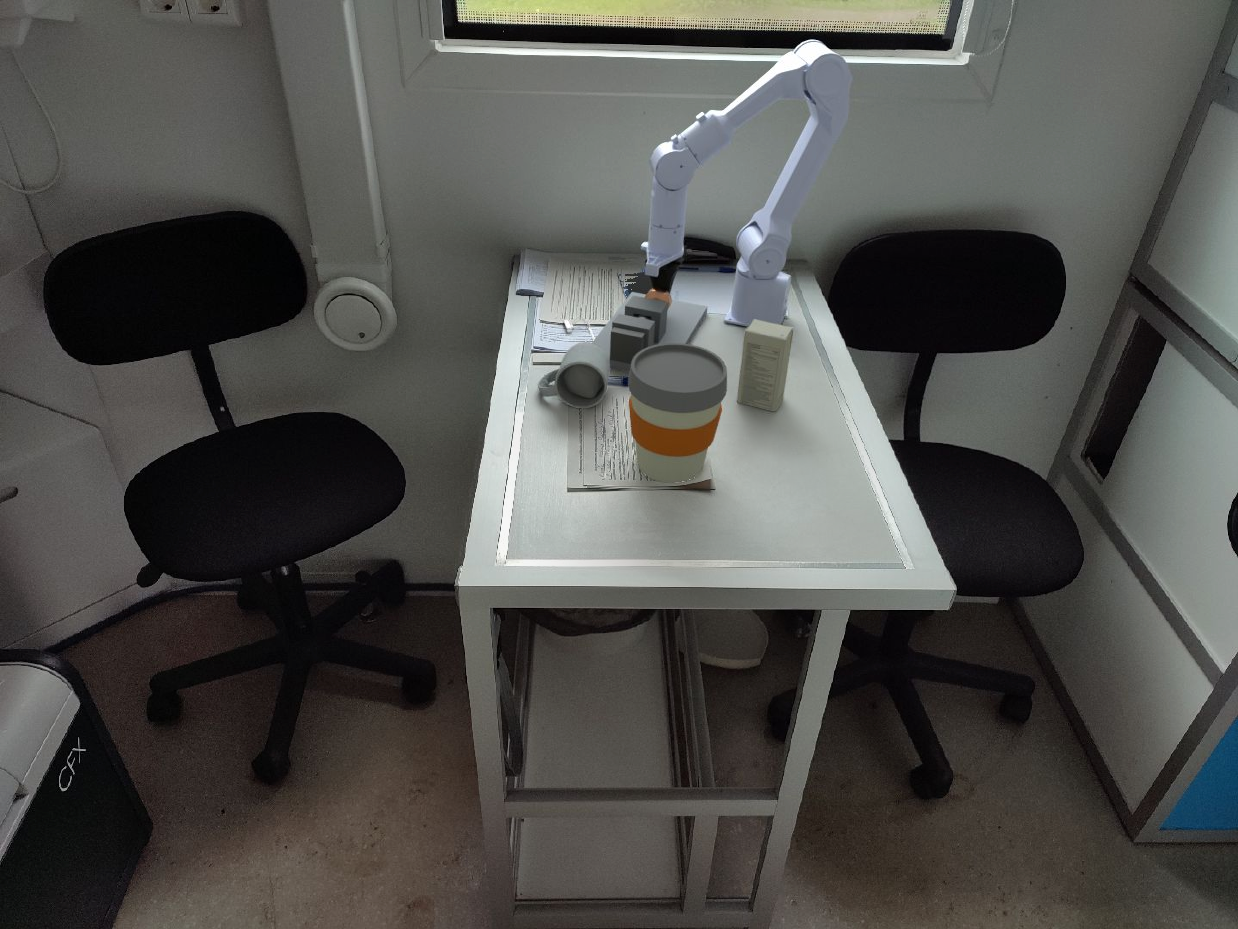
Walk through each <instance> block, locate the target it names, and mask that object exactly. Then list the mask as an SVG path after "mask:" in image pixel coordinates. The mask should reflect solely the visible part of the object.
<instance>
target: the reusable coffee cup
mask: <svg viewBox="0 0 1238 929" xmlns="http://www.w3.org/2000/svg"><path fill="white" fill-rule="evenodd" d="M627 387H628V391H629V392H630V397H629V398H628V400H629V401H628V410H629V420H630V432H631V435H632V438H633V440H634V443H635V452H636V455H635V456H636V463H637V466H638V468H639V470H640V471H641V473H643V474H644V475H645V476H647V477H648V478H650V479H652V480H654V481H657V482H661V483H666V482H672V483H671V484H676V483H675V482H681V483H683V482H682V481H685V482H688V481H687V480H689V479H691V480H693V479H694V477H695V478H696V477H698V476H699V475H700V474H701V472H702V470H703V468H704V464H705V460H706V457H707V454H708V450H709V448H710V447H711V445H712V444H713V442H714V440H715V437H716V434H717V430H718V426H719V423H720V420H721V416H722V412H723V407H722V401H723V400H724V399H725V397H726V395H727V390H728V389H727V388H728V370H727V365H726V363H725V361H724V360H723V359H722V358H721V357H720V356H719V355H717V354H716V353H715V352H712V351H711V350H708V349H707V348H704V347H701V346H697V345H694V344H690V343H689V344H683V343H664V344H658V345H653V346H650V347H647V348H645V349H643V350H641V351H640V352H638V353H637V354H636V355H635V356H634V357H633V359H632V362H631V367H630V372H628V378H627ZM697 475H698V476H697ZM689 481H690V480H689Z"/></svg>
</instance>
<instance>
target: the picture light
mask: <svg viewBox="0 0 1238 929" xmlns="http://www.w3.org/2000/svg"><path fill="white" fill-rule="evenodd" d="M584 319H585V318H584ZM584 319H583V317H582V316H579V317H576V318H575V319H573V321H572V322H571V323H570V321H569V320H568V319H563V321H564V325H565V328H566V332H567V334H568V335H569V334H572V333H573V331H572V330H574V329H575V324H576V323H577V322H579V321H584V322H585V321H586V322H587V325H588V326H586V328H587V327H588V329H587V331H588V332H589V331H590V333H589V335H590V334H591V336H590V337H592V338H593V340H594V339H595V338H596V336H595V334H594V331H593V330H592V326H591V324H590V322H589V320H588V318H587V319H585V320H584ZM587 320H588V321H587ZM592 338H591V339H592ZM593 340H592V341H593Z"/></svg>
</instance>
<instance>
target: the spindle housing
mask: <svg viewBox="0 0 1238 929" xmlns="http://www.w3.org/2000/svg"><path fill="white" fill-rule="evenodd" d="M645 296H646V295H645V294H640V293H635V292H631V294H630V295H629V296H628V298H627V299H626V298H625V300H624V301H623V303H622V304H620V307H618V309H617V310H616V312H615V313H614V314H613V316H611V318H610V319H609V321H607V323H606V324H605V326H603V328H602V329H601V330H600V332H599V333H598V335H597V336H595V339H594V341H593V340H592V342H591V343H593V344H596V345H598V346H600V347H601V348H602V349H603V350H604V351H605V352H606V353H607V355H608V358H609V361H610V369H613V370H617V371H622V372H626V373H629V372H630V367H631V362H632V359H633V357H634V356H635V355H636V354H637V353H638V352H640V351H641V350H643V349H645V348H647V347H650V346H653V345H658V344H664V343H683V344H690V343H691V341H692V340H693V338H694V336H695V335H696V333H697V332H698V330H699V328H700V326H701V325H702V323H703V321H704V320H705V318H706V316H707V314H708V306H707V305H701V304H697V303H691V302H686V301H681V300H677V299H676V300H675V299H672V303H671V306H670V307H669V309H668V302H664V301H659V300H654V299H649V298H644V297H645ZM639 314H640V315H645V316H650V317H651V320H647V319H642V318H637V317H638V315H639Z"/></svg>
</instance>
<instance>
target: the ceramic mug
mask: <svg viewBox="0 0 1238 929" xmlns="http://www.w3.org/2000/svg"><path fill="white" fill-rule="evenodd" d="M610 373H611V368H610V361H609V358H608V355H607V353H606V352H605V351H604V350H603V349H602V348H601V347H600V346H598V345H596V344H593V343H592V342H589V341H588V342H587V341H586V342H585V341H583V342H578V343H576V344H574V345H572V346H571V347H570V348H569V349H568V350H567V351H566V352H565V354H564V355H563V358H562V360H561V363H560V365H559V368H557V369H554V370H552V371H550V372H549V371H548V373H547V374H545V375H544V376H542V377H541V378H540V380H539V382H538V383H537V389H538V390H539V392H540V394H541V395H542V396H543V397H545V398H548V397H556V396H558V398H559V399H560V400H561V401H562V402H563V403H565V404H566V405H568V406H570V407H572V408H576V409H589V408H592V407H595V406H598V404H599V403H601V402H602V401H603V399H605V397H606V395H607V391H608V385H609V378H610ZM552 382H554V384H553V385H552V386H551V385H550V384H551V383H552ZM549 385H550V386H549Z"/></svg>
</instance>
